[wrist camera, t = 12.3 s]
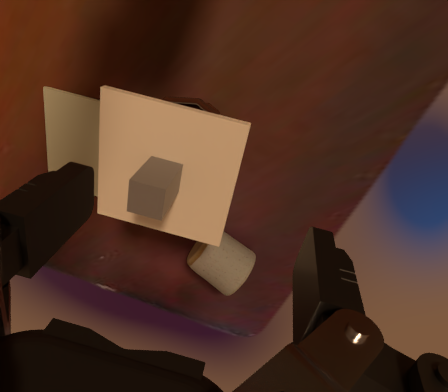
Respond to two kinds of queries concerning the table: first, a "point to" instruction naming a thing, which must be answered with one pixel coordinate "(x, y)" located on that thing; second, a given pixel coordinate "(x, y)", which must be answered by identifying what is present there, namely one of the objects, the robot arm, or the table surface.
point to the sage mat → (72, 130)
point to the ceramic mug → (222, 263)
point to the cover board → (172, 142)
